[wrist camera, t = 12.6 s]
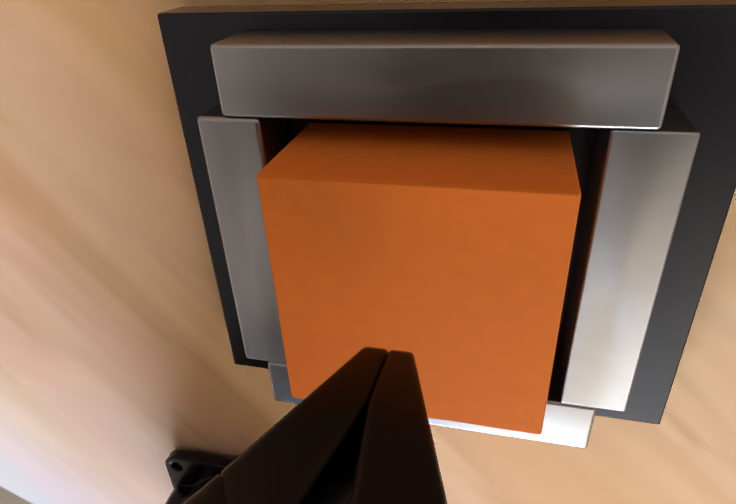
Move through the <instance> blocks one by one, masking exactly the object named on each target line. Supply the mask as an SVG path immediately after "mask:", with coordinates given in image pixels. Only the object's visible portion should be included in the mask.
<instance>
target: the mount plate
mask: <svg viewBox="0 0 736 504" xmlns="http://www.w3.org/2000/svg"><path fill="white" fill-rule="evenodd" d="M158 20H159V24H160V29H161V33H162V38H163V42H164V47H165V51H166V56H167V60H168V65H169V69H170V74H171V78H172V83H173V87H174V92H175V96H176V101H177V105H178V110H179V114H180V119H181V123H182V128H183V132H184V137H185V141H186V146H187V150H188V155H189V159H190V164H191V168H192V173H193V177H194V182H195V186H196V191H197V195H198V200H199V204H200V209H201V213H202V218H203V222H204V227H205V231H206V236H207V240H208V245H209V249H210V254H211V258H212V263H213V267H214V272H215V276H216V281H217V285H218V290H219V294H220V299H221V303H222V308H223V312H224V317H225V321H226V326H227V330H228V335H229V339H230V344H231V348H232V353H233V357H234V362H235V364H239V365H246V366H253V367H260V368H267V369H269V372H270V378H271V383H272V389H273V394H274V399H275V400H278V401H284V402H291V403H297V404H299V403H300V402H302V401H303V400H304V399H302V398H295V397H292V395H291V389H290V382H289V376H288V370H287V364H286V357H285V351H284V345H283V339H282V333H281V326H280V320H279V314H278V308H277V301H276V295H275V289H274V283H273V276H272V270H271V264H270V258H269V252H268V245H267V239H266V233H265V227H264V220H263V214H262V208H261V202H260V195H259V189H258V183H257V174H258V173H259V172H260V171H261V170H262V169H263V168H264V167H265V166H266V165H267V164H268V163H269V162H270V161H271V160H272V159H273V158H274V157H275V156H276V155H277V154H278V153H279V152H280V151H281V150H282V149H283V148H285V147H286V146H287V145H288V144H289V143H290V142H291V141H292V140H293V139H294V138H295V137H296V136H297V135H298V134H299V133H300V132H301V131H302V130H303V129H304V128H305V127H306V126H307V125H308V124H309V123H338V124H369V125H400V126H431V127H462V128H494V129H525V130H556V131H568V132H569V134H570V139H571V144H572V149H573V154H574V160H575V165H576V170H577V175H578V180H579V185H580V190H581V200H580V206H579V212H578V218H577V224H576V230H575V236H574V242H573V248H572V254H571V260H570V266H569V272H568V278H567V284H566V290H565V296H564V302H563V308H562V314H561V320H560V326H559V332H558V338H557V344H556V350H555V356H554V362H553V368H552V374H551V380H550V386H549V393H548V399H547V405H546V411H545V417H544V423H543V429H542V432H541V434H539V435H538V434H531V433H525V432H518V431H511V430H505V429H498V428H492V427H485V426H479V425H472V424H465V423H459V422H452V421H446V420H439V419H433V418H428V420H429V424H432V425H438V426H445V427H451V428H457V429H464V430H470V431H477V432H483V433H489V434H496V435H502V436H509V437H515V438H521V439H528V440H534V441H541V442H547V443H554V444H560V445H566V446H573V447H579V448H586V447H587V445H588V441H589V437H590V433H591V428H592V424H593V420H594V416H595V415H597V416H604V417H611V418H618V419H625V420H632V421H639V422H646V423H653V424H660V421H661V418H662V415H663V412H664V409H665V406H666V403H667V400H668V396H669V393H670V390H671V387H672V384H673V381H674V378H675V375H676V372H677V368H678V365H679V362H680V359H681V356H682V353H683V350H684V347H685V344H686V341H687V337H688V334H689V331H690V328H691V325H692V322H693V319H694V316H695V313H696V309H697V306H698V303H699V300H700V297H701V294H702V291H703V288H704V285H705V281H706V278H707V275H708V272H709V269H710V266H711V263H712V260H713V257H714V253H715V250H716V247H717V244H718V241H719V238H720V235H721V232H722V229H723V226H724V222H725V219H726V216H727V213H728V210H729V207H730V204H731V201H732V198H733V194H734V191H735V188H736V0H565V1H508V2H451V3H394V4H337V5H279V6H222V7H180V8H176V9H173V10H169V11H165V12H161V13H159V14H158Z"/></svg>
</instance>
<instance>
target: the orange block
mask: <svg viewBox="0 0 736 504" xmlns="http://www.w3.org/2000/svg"><path fill="white" fill-rule="evenodd" d="M257 183H258V189H259V195H260V202H261V208H262V214H263V220H264V227H265V233H266V239H267V245H268V252H269V258H270V264H271V270H272V276H273V283H274V289H275V295H276V301H277V308H278V314H279V320H280V326H281V333H282V339H283V345H284V351H285V357H286V364H287V370H288V376H289V382H290V389H291V395H292V397H295V398H302V399H305V398H306V397H307V396H308V395H310V394H311V393H312V392H313V391H314V390H315V389H316V388H318V387H319V386H320V385H321V384H322V383H323V382H325V381H326V380H327V379H328V378H329V377H330V376H331V375H333V374H334V373H335V372H336V371H337V370H338V369H339V368H341V367H342V366H343V365H344V364H345V363H346V362H347V361H349V360H350V359H351V358H352V357H353V356H354V355H355V354H357V353H358V352H359V351H360V350H361V349H363V348H364V347H375V348H383V349H386V350H387V351H388V352H389V351H391V350H399V351H407V352H411V353H413V355H414V358H415V362H416V367H417V371H418V376H419V380H420V384H421V389H422V393H423V398H424V402H425V407H426V411H427V416H428V418H433V419H439V420H446V421H452V422H459V423H465V424H472V425H479V426H485V427H492V428H498V429H505V430H511V431H518V432H525V433H531V434H538V435H539V434H541V432H542V429H543V423H544V417H545V411H546V405H547V399H548V393H549V386H550V380H551V374H552V368H553V362H554V356H555V350H556V344H557V338H558V332H559V326H560V320H561V314H562V308H563V302H564V296H565V290H566V284H567V278H568V272H569V266H570V260H571V254H572V248H573V242H574V236H575V230H576V224H577V218H578V212H579V206H580V200H581V190H580V185H579V180H578V175H577V170H576V165H575V160H574V154H573V149H572V144H571V139H570V134H569V132H568V131H556V130H525V129H494V128H462V127H431V126H400V125H369V124H338V123H309V124H308V125H307V126H306V127H305V128H304V129H303V130H302V131H301V132H300V133H299V134H298V135H297V136H296V137H295V138H294V139H293V140H292V141H291V142H290V143H289V144H288V145H287V146H286V147H285V148H283V149H282V150H281V151H280V152H279V153H278V154H277V155H276V156H275V157H274V158H273V159H272V160H271V161H270V162H269V163H268V164H267V165H266V166H265V167H264V168H263V169H262V170H261V171H260V172H259V173H258V174H257Z"/></svg>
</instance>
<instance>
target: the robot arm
mask: <svg viewBox="0 0 736 504" xmlns="http://www.w3.org/2000/svg"><path fill="white" fill-rule="evenodd" d="M165 462H166V467H167V470H168V472H169V475H170V478H171V481H172V484H173V487H174V490H173V492H172V493H171V495H170V497H169V498H168V500H167V502H166V503H165V504H447V500H446V496H445V491H444V487H443V482H442V478H441V473H440V469H439V465H438V460H437V456H436V451H435V447H434V442H433V438H432V433H431V429H430V424H429V420H428V416H427V411H426V407H425V402H424V398H423V393H422V389H421V384H420V380H419V376H418V371H417V367H416V362H415V358H414V355H413V353H411V352H407V351H399V350H391V351H389V352H388V351H387V350H386V349H383V348H375V347H364V348H363V349H361V350H360V351H359V352H358V353H357V354H355V355H354V356H353V357H352V358H351V359H350V360H349V361H347V362H346V363H345V364H344V365H343V366H342V367H341V368H339V369H338V370H337V371H336V372H335V373H334V374H333V375H331V376H330V377H329V378H328V379H327V380H326V381H325V382H323V383H322V384H321V385H320V386H319V387H318V388H316V389H315V390H314V391H313V392H312V393H311V394H310V395H308V396H307V397H306V398H305V399H304V400H303V401H302V402H300V403H299V404H298V405H297V406H296V407H295V408H294V409H292V410H291V411H290V412H289V413H288V414H287V415H285V416H284V417H283V418H282V419H281V420H280V421H279V422H277V423H276V424H275V425H274V426H273V427H272V428H271V429H269V430H268V431H267V432H266V433H265V434H264V435H263V436H261V437H260V438H259V439H258V440H257V441H256V442H254V443H253V444H252V445H251V446H250V447H249V448H248V449H246V450H245V451H244V452H243V453H242V454H241V455H240V456H238V457H237V458H236V459H235V460H232V459H227V458H221V457H216V456H210V455H205V454H200V453H194V452H189V451H184V450H173V451H172V452H171V454H170V455H169V457H168V458H167V460H166V461H165Z"/></svg>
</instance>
